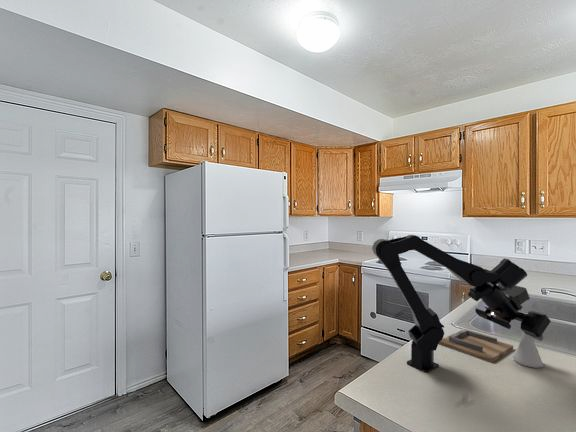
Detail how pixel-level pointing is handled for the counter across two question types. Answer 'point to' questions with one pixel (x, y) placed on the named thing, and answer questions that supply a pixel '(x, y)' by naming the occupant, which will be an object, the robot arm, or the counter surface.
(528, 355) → the flask
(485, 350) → the board
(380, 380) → the counter surface
